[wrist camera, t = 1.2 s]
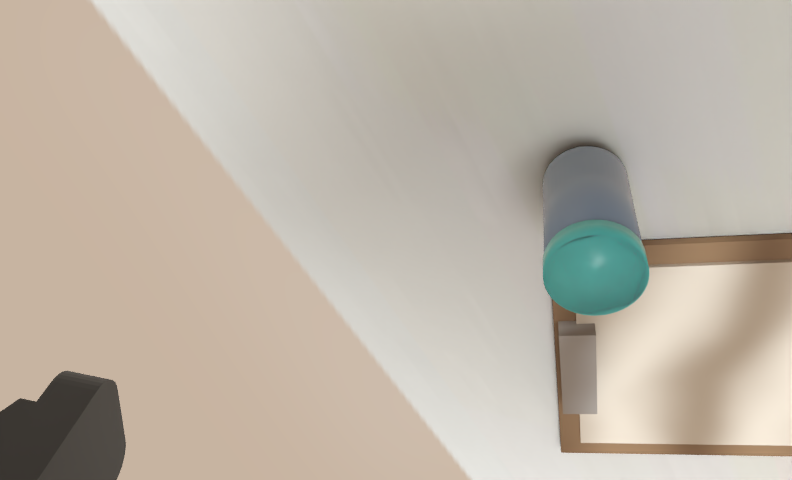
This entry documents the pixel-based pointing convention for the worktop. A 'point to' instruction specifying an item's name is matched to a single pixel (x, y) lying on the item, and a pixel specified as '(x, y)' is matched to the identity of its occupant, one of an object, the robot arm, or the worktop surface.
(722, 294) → the clipboard
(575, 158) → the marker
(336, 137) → the worktop surface
